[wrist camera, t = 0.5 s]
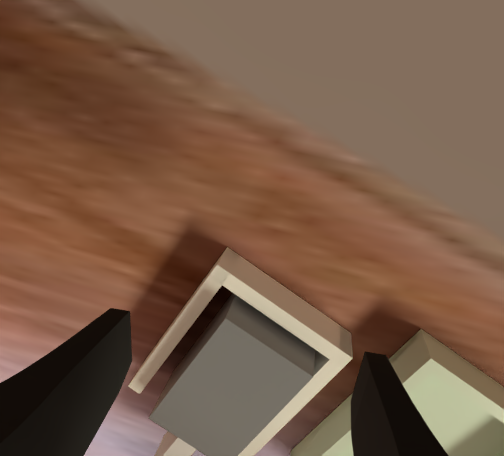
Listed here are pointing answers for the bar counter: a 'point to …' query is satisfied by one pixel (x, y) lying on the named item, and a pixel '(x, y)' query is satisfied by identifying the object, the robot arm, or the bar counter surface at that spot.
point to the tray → (429, 404)
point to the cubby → (276, 308)
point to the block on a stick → (231, 383)
